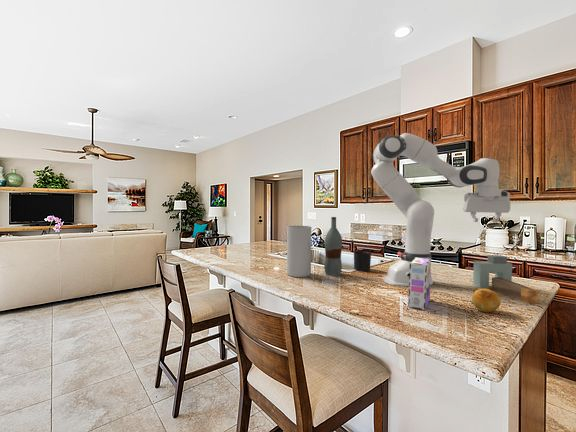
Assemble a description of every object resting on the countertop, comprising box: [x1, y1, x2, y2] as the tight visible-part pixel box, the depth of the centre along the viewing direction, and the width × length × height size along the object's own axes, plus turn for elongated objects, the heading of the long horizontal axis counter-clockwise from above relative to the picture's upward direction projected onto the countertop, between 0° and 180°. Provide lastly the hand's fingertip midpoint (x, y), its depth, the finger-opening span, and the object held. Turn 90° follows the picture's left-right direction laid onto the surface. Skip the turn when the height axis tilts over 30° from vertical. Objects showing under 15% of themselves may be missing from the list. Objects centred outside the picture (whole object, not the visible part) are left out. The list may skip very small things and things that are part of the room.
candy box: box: [407, 258, 432, 311], centre depth 112 cm, size 14×6×16 cm, turn 148°
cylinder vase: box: [286, 225, 312, 278], centre depth 155 cm, size 12×12×25 cm
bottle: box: [323, 216, 343, 277], centre depth 157 cm, size 9×9×30 cm
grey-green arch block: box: [472, 254, 513, 289], centre depth 136 cm, size 14×5×14 cm, turn 90°
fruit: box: [471, 288, 501, 313], centre depth 105 cm, size 8×8×8 cm
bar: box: [491, 276, 539, 305], centre depth 124 cm, size 4×20×5 cm, turn 0°
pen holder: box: [353, 250, 372, 272], centre depth 168 cm, size 9×9×10 cm
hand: (485, 222), depth 142 cm, fingers open, 8 cm apart
